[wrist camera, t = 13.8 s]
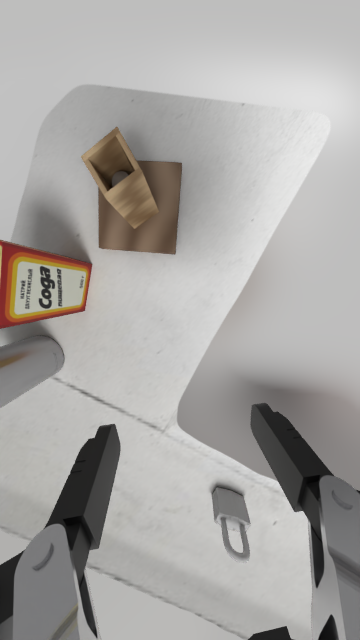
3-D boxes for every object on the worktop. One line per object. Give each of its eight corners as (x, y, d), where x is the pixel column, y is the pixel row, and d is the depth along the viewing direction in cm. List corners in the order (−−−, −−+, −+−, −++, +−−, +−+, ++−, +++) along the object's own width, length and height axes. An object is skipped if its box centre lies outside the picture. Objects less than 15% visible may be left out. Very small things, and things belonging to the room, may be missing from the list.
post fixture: (101, 248, 32) (72, 235, 24) (101, 163, 29) (68, 116, 21) (175, 254, 31) (169, 242, 23) (181, 167, 28) (178, 120, 20)
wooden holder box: (134, 229, 30) (106, 199, 20) (118, 201, 29) (80, 156, 19) (159, 211, 29) (142, 171, 19) (142, 183, 28) (117, 126, 18)
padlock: (210, 496, 41) (216, 562, 31) (216, 484, 40) (225, 548, 30) (238, 506, 41) (253, 575, 31) (244, 494, 40) (262, 561, 30)
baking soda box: (84, 311, 34) (-7, 329, 18) (54, 302, 34) (-63, 314, 18) (92, 264, 32) (-2, 240, 17) (59, 255, 32) (-64, 223, 17)
